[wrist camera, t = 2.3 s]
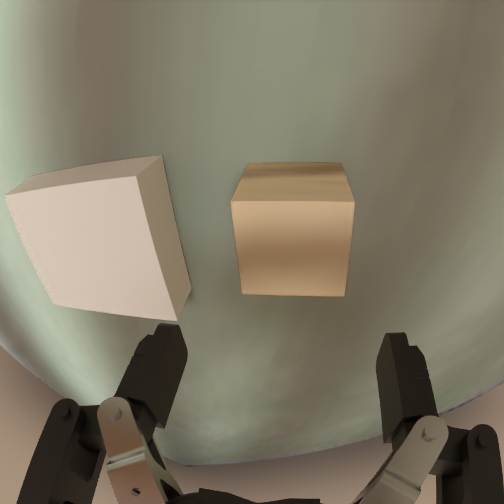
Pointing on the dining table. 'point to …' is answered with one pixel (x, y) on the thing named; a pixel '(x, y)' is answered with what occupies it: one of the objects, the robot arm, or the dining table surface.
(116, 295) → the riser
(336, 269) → the maple cube
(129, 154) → the dining table surface
